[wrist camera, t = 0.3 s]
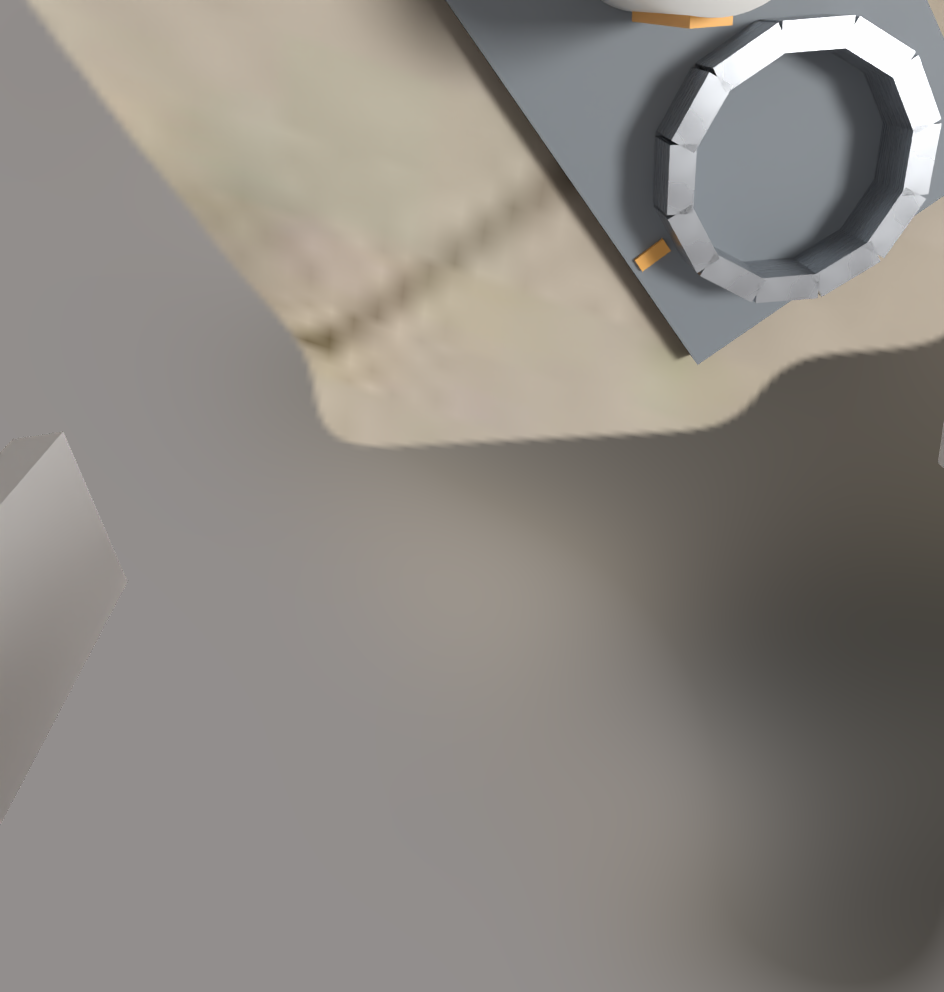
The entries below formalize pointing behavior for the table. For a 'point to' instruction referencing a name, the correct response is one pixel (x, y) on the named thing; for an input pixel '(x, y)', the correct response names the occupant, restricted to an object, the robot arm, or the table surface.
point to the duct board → (725, 146)
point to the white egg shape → (686, 11)
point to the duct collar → (882, 205)
